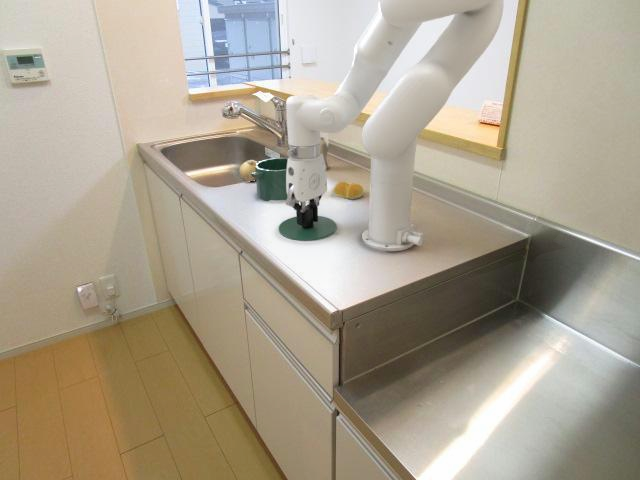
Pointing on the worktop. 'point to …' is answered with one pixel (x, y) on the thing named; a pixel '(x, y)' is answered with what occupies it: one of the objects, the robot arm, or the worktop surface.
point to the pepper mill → (324, 146)
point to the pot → (271, 179)
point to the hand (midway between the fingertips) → (307, 222)
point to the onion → (247, 170)
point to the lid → (308, 227)
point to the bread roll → (348, 190)
